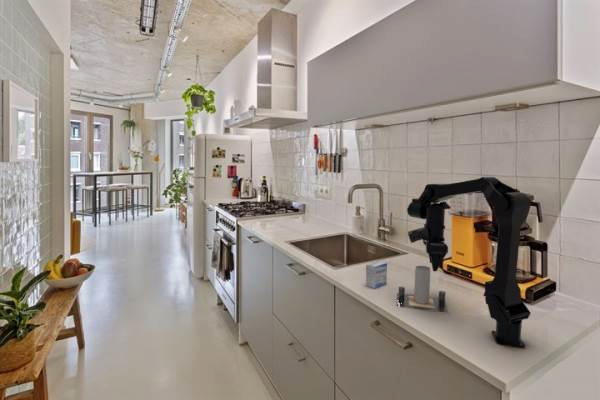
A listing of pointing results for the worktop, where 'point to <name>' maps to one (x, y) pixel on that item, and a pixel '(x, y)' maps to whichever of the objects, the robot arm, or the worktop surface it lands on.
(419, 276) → the beverage can
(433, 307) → the post gate
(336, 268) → the worktop surface
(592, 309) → the worktop surface
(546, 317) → the worktop surface
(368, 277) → the medicine box
